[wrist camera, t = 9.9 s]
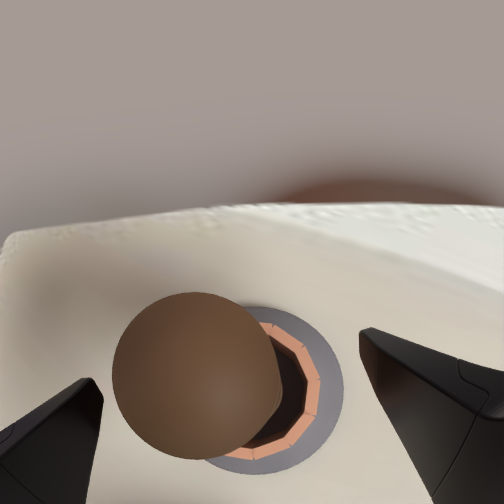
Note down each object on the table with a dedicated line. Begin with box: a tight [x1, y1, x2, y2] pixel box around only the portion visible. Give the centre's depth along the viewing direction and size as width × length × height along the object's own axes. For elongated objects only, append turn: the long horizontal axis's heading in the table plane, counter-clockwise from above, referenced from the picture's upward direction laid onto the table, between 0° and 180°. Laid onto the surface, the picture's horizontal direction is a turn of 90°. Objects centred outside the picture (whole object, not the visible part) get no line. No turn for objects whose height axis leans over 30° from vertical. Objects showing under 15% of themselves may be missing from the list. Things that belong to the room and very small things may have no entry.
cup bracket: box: [204, 307, 344, 475], centre depth 15 cm, size 11×11×4 cm
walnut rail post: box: [112, 292, 283, 460], centre depth 11 cm, size 4×4×12 cm
